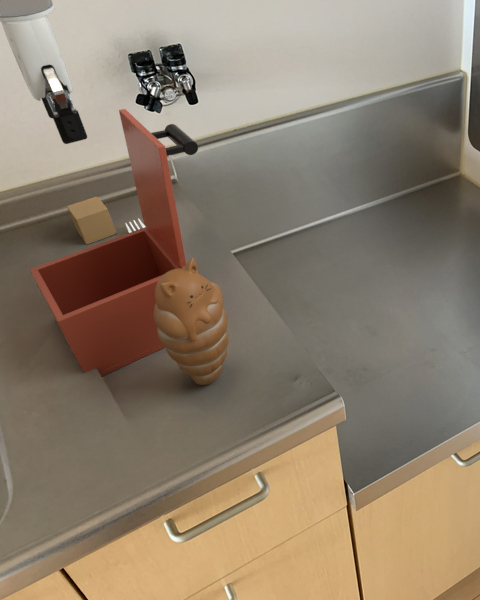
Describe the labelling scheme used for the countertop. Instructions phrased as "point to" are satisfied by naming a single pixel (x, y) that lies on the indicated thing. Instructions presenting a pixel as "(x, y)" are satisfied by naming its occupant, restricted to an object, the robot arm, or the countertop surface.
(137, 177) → the bin lid
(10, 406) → the countertop surface
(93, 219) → the carton
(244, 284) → the countertop surface
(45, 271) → the trash can
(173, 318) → the cat ice cream
